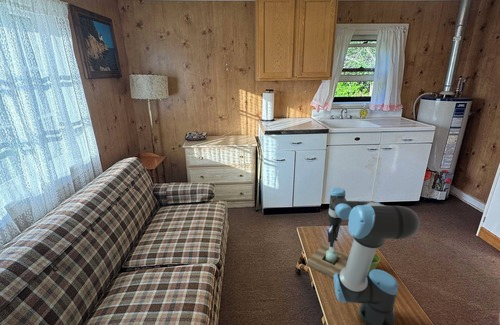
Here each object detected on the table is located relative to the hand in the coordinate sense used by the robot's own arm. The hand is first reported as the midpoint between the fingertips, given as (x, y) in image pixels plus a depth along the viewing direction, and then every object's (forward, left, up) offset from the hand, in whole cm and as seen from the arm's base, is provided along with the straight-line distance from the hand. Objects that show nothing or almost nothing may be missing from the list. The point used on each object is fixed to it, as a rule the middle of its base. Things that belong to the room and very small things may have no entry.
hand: (331, 250), depth 155 cm
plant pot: (+10, -19, -10) cm, 24 cm away
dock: (0, 0, -10) cm, 10 cm away
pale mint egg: (0, 0, -7) cm, 7 cm away
